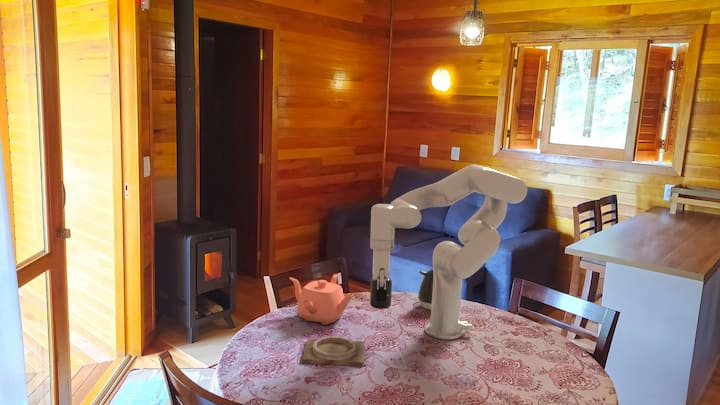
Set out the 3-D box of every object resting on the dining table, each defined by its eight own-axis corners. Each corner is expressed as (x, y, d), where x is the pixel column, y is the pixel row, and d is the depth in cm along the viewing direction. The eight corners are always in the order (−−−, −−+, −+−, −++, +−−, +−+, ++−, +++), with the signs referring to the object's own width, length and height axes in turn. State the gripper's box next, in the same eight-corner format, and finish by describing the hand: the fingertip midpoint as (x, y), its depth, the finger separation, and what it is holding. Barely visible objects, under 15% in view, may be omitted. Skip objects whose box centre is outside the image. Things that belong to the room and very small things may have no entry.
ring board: (364, 344, 170) (364, 336, 170) (363, 366, 157) (363, 357, 156) (307, 341, 171) (307, 334, 170) (302, 362, 157) (302, 354, 156)
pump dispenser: (416, 301, 210) (419, 264, 207) (443, 303, 209) (446, 266, 206) (416, 311, 200) (419, 272, 197) (445, 313, 199) (448, 274, 196)
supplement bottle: (389, 310, 170) (390, 274, 167) (368, 308, 171) (369, 272, 169) (392, 302, 176) (393, 267, 174) (372, 300, 177) (372, 265, 175)
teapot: (288, 311, 194) (289, 275, 192) (335, 305, 202) (337, 270, 199) (303, 331, 178) (304, 292, 176) (354, 324, 185) (356, 286, 183)
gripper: (370, 235, 178) (369, 286, 181) (370, 250, 161) (369, 306, 164) (393, 236, 178) (391, 287, 181) (395, 251, 161) (393, 307, 164)
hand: (380, 296), depth 173 cm, fingers closed on supplement bottle, 6 cm apart
